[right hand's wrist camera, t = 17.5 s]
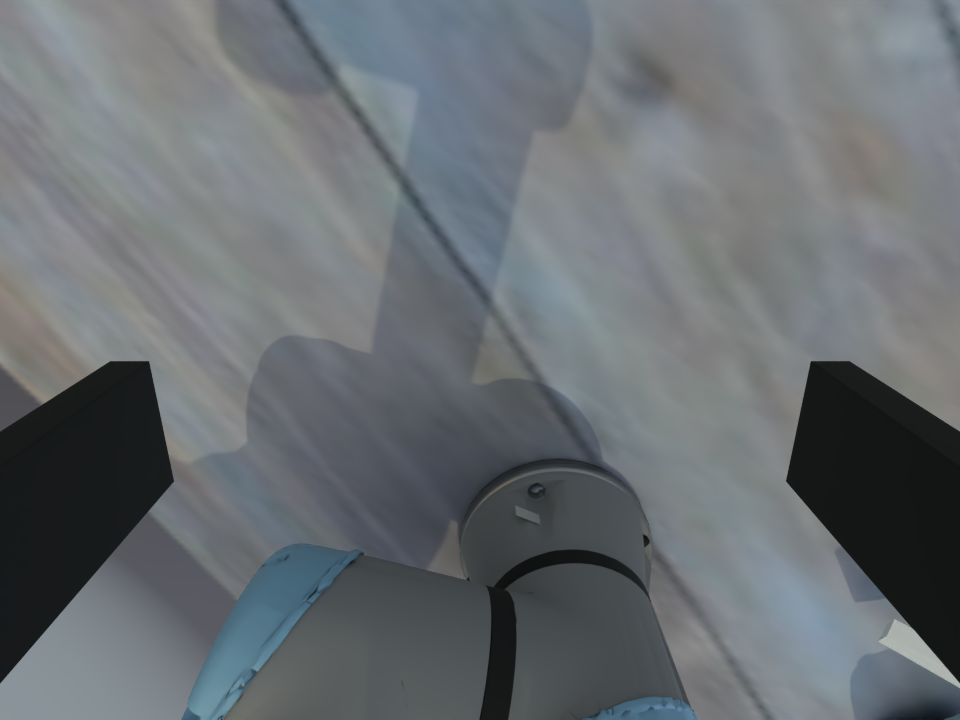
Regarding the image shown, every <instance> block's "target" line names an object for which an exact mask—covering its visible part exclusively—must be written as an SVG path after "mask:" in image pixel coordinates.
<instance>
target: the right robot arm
mask: <svg viewBox="0 0 960 720" xmlns="http://www.w3.org/2000/svg"><path fill="white" fill-rule="evenodd" d="M173 482H174V479H173V475H172V470H171V465H170V460H169V455H168V450H167V446H166V441H165V436H164V431H163V426H162V422H161V417H160V412H159V407H158V402H157V397H156V393H155V388H154V383H153V378H152V373H151V369H150V364H149V361H110V362H109V363H107V364H105V365H104V366H102V367H101V368H99V369H98V370H96V371H94V372H93V373H91V374H90V375H88V376H87V377H85V378H84V379H82V380H80V381H79V382H77V383H76V384H74V385H73V386H71V387H69V388H68V389H66V390H65V391H63V392H62V393H60V394H58V395H57V396H55V397H54V398H52V399H51V400H49V401H48V402H46V403H44V404H43V405H41V406H40V407H38V408H37V409H35V410H33V411H32V412H30V413H29V414H27V415H26V416H24V417H22V418H21V419H19V420H18V421H16V422H15V423H13V424H12V425H10V426H8V427H7V428H5V429H4V430H2V431H1V432H0V683H1V682H2V681H3V680H4V678H5V677H6V676H7V675H8V674H9V672H10V671H11V670H12V669H13V668H14V667H15V666H16V664H17V663H18V662H19V661H20V660H21V659H22V657H23V656H24V655H25V654H26V653H27V652H28V650H29V649H30V648H31V647H32V646H33V645H34V643H35V642H36V641H37V640H38V639H39V638H40V636H41V635H42V634H43V633H44V632H45V631H46V629H47V628H48V627H49V626H50V625H51V624H52V623H53V621H54V620H55V619H56V618H57V617H58V616H59V614H60V613H61V612H62V611H63V610H64V609H65V607H66V606H67V605H68V604H69V603H70V602H71V600H72V599H73V598H74V597H75V596H76V595H77V593H78V592H79V591H80V590H81V589H82V588H83V586H84V585H85V584H86V583H87V582H88V581H89V579H90V578H91V577H92V576H93V575H94V574H95V573H96V571H97V570H98V569H99V568H100V567H101V566H102V564H103V563H104V562H105V561H106V560H107V558H108V557H109V556H110V555H111V554H112V553H113V552H114V550H115V549H116V548H117V547H118V546H119V545H120V543H121V542H122V541H123V540H124V539H125V538H126V536H127V535H128V534H129V533H130V532H131V531H132V529H133V528H134V527H135V526H136V525H137V524H138V523H139V521H140V520H141V519H142V518H143V517H144V516H145V514H146V513H147V512H148V511H149V510H150V509H151V507H152V506H153V505H154V504H155V503H156V502H157V500H158V499H159V498H160V497H161V496H162V495H163V493H164V492H165V491H166V490H167V489H168V488H169V486H170V485H171V484H172V483H173ZM786 482H787V483H788V484H789V485H790V486H791V488H792V489H793V490H794V491H795V492H796V493H797V495H798V496H799V497H800V498H801V499H802V500H803V502H804V503H805V504H806V505H807V506H808V507H809V509H810V510H811V511H812V512H813V513H814V514H815V516H816V517H817V518H818V519H819V520H820V521H821V523H822V524H823V525H824V526H825V527H826V528H827V529H828V531H829V532H830V533H831V534H832V535H833V536H834V538H835V539H836V540H837V541H838V542H839V543H840V545H841V546H842V547H843V548H844V549H845V550H846V552H847V553H848V554H849V555H850V556H851V557H852V559H853V560H854V561H855V562H856V563H857V564H858V566H859V567H860V568H861V569H862V570H863V571H864V573H865V574H866V575H867V576H868V577H869V578H870V580H871V581H872V582H873V583H874V584H875V585H876V586H877V588H878V589H879V590H880V591H881V592H882V593H883V595H884V596H885V597H886V598H887V599H888V600H889V602H890V603H891V604H892V605H893V606H894V607H895V609H896V610H897V611H898V612H899V613H900V614H901V616H902V617H903V618H904V619H905V620H906V621H907V623H908V624H909V625H910V626H911V627H912V628H913V630H914V631H915V632H916V633H917V634H918V635H919V637H920V638H921V639H922V640H923V641H924V642H925V643H926V645H927V646H928V647H929V648H930V649H931V650H932V652H933V653H934V654H935V655H936V656H937V657H938V659H939V660H940V661H941V662H942V663H943V664H944V666H945V667H946V668H947V669H948V670H949V671H950V673H951V674H952V675H953V676H954V677H955V678H956V680H957V681H958V682H959V683H960V432H959V431H958V430H956V429H955V428H953V427H952V426H950V425H948V424H947V423H945V422H944V421H942V420H941V419H939V418H938V417H936V416H934V415H933V414H931V413H930V412H928V411H927V410H925V409H923V408H922V407H920V406H919V405H917V404H916V403H914V402H912V401H911V400H909V399H908V398H906V397H905V396H903V395H902V394H900V393H898V392H897V391H895V390H894V389H892V388H891V387H889V386H887V385H886V384H884V383H883V382H881V381H880V380H878V379H876V378H875V377H873V376H872V375H870V374H869V373H867V372H866V371H864V370H862V369H861V368H859V367H858V366H856V365H855V364H853V363H851V362H850V361H811V364H810V369H809V373H808V378H807V383H806V388H805V393H804V397H803V402H802V407H801V412H800V417H799V422H798V426H797V431H796V436H795V441H794V446H793V450H792V455H791V460H790V465H789V470H788V475H787V479H786ZM460 557H461V565H462V569H463V573H464V576H465V578H466V580H463V579H459V578H455V577H451V576H447V575H443V574H439V573H435V572H430V571H426V570H422V569H418V568H414V567H410V566H406V565H402V564H398V563H394V562H389V561H385V560H381V559H377V558H373V557H369V556H365V555H364V552H362V551H360V550H353V551H351V552H347V551H342V550H336V549H331V548H326V547H320V546H315V545H310V544H293V545H290V546H287V547H285V548H283V549H281V550H279V551H278V552H276V553H275V554H273V555H272V556H271V557H270V558H269V559H268V560H267V561H266V562H265V563H264V564H263V565H262V566H261V568H260V569H259V570H258V572H257V573H256V574H255V575H254V577H253V578H252V580H251V581H250V582H249V584H248V585H247V587H246V588H245V590H244V591H243V593H242V595H241V596H240V598H239V599H238V601H237V603H236V605H235V606H234V608H233V610H232V611H231V613H230V615H229V616H228V618H227V620H226V622H225V624H224V625H223V627H222V629H221V631H220V633H219V635H218V637H217V639H216V641H215V642H214V644H213V646H212V648H211V650H210V652H209V654H208V656H207V659H206V661H205V663H204V665H203V667H202V669H201V671H200V673H199V675H198V678H197V680H196V682H195V685H194V687H193V689H192V692H191V694H190V696H189V700H188V707H187V709H186V711H185V713H184V715H183V718H182V720H698V719H697V717H696V715H695V714H694V710H692V709H691V706H690V704H689V701H688V698H687V696H686V693H685V690H684V688H683V685H682V682H681V680H680V677H679V675H678V672H677V669H676V667H675V664H674V661H673V659H672V656H671V653H670V651H669V648H668V645H667V643H666V640H665V637H664V635H663V632H662V629H661V627H660V624H659V622H658V619H657V616H656V614H655V611H654V608H653V606H652V603H651V600H650V597H649V585H650V573H651V561H652V537H651V531H650V528H649V525H648V522H647V520H646V517H645V515H644V513H643V510H642V508H641V505H640V504H639V502H638V500H637V498H636V497H635V495H634V494H633V493H632V491H631V490H630V489H629V488H628V487H627V486H626V485H625V484H624V483H623V482H622V481H620V480H619V479H618V478H616V477H615V476H614V475H612V474H610V473H609V472H607V471H605V470H603V469H601V468H598V467H596V466H593V465H590V464H587V463H583V462H578V461H572V460H544V461H538V462H533V463H529V464H525V465H522V466H519V467H517V468H514V469H512V470H510V471H508V472H506V473H504V474H502V475H501V476H499V477H497V478H496V479H495V480H493V481H492V482H491V483H489V484H488V485H487V486H486V487H485V488H484V489H483V490H482V491H481V492H480V493H479V494H478V495H477V497H476V498H475V500H474V501H473V502H472V504H471V506H470V507H469V509H468V511H467V514H466V516H465V519H464V522H463V526H462V531H461V547H460Z"/></svg>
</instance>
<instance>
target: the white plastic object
mask: <svg viewBox="0 0 960 720" xmlns="http://www.w3.org/2000/svg"><path fill="white" fill-rule="evenodd" d="M878 642H880V643H882V644H884V645H885V646H887V647H889V648H891V649H892V650H894V651H896V652H898V653H899V654H901V655H903V656H905V657H906V658H908V659H910V660H912V661H913V662H915V663H917V664H919V665H920V666H922V667H924V668H926V669H927V670H929V671H931V672H933V673H934V674H936V675H938V676H940V677H941V678H943V679H945V680H947V681H948V682H950V683H952V684H954V685H955V686H957V687H959V688H960V683H959V682H958V681H957V680H956V678H955V677H954V676H953V675H952V674H951V673H950V671H949V670H948V669H947V668H946V667H945V666H944V664H943V663H942V662H941V661H940V660H939V659H938V657H937V656H936V655H935V654H934V653H933V652H932V650H931V649H930V648H929V647H928V646H927V645H926V643H925V642H924V641H923V640H922V639H921V638H920V637H919V635H918V634H917V633H916V632H915V631H914V630H913V629H912V628H910V627H908V626H906V625H905V624H903V623H901V622H899V621H897V620H895V619H894V620H893V621H892V622H891V623H889V624H888V625H887V626H886V627H885V629H884V631H883V633H882V635H881V637H880V639H879V641H878Z"/></svg>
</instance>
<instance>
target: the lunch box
mask: <svg viewBox="0 0 960 720" xmlns="http://www.w3.org/2000/svg"><path fill="white" fill-rule="evenodd" d="M944 720H960V713H959V714H957V715H955V716H953V717H950V718H946V719H944Z"/></svg>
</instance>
